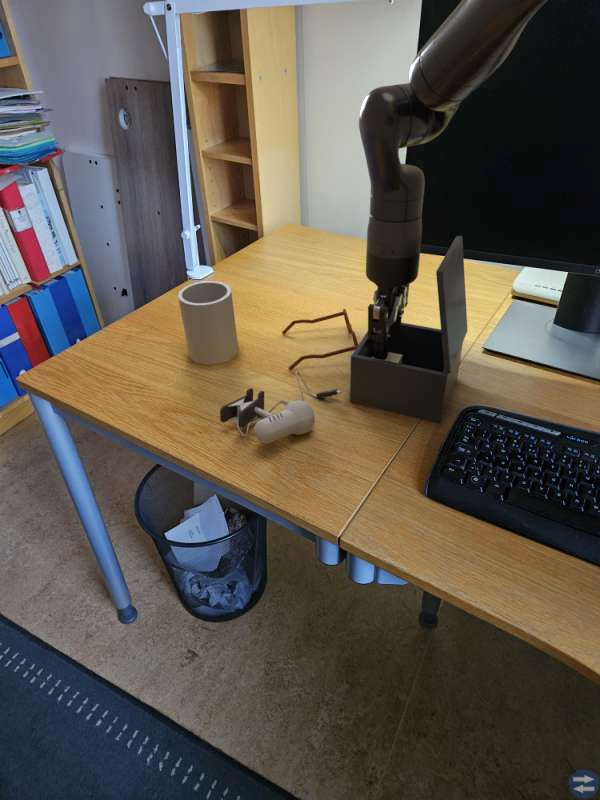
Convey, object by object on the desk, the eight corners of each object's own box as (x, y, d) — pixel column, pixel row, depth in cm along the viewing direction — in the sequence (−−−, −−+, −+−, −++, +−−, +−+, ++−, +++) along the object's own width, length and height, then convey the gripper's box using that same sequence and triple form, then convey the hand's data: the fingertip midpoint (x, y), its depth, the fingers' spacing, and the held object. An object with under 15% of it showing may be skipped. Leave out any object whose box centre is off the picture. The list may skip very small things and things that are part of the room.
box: (349, 402, 90) (350, 356, 85) (374, 361, 99) (376, 317, 94) (440, 423, 85) (447, 376, 80) (457, 378, 94) (464, 333, 89)
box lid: (435, 271, 71) (442, 271, 71) (456, 236, 80) (462, 235, 80) (444, 373, 79) (450, 373, 79) (462, 330, 88) (467, 330, 88)
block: (400, 377, 93) (402, 354, 91) (393, 392, 90) (395, 369, 88) (375, 371, 95) (376, 349, 92) (366, 386, 92) (367, 363, 89)
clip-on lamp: (297, 396, 96) (215, 428, 84) (299, 362, 94) (214, 389, 82) (350, 419, 89) (268, 457, 77) (354, 383, 87) (269, 416, 74)
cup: (246, 354, 102) (239, 295, 95) (200, 370, 99) (190, 310, 91) (225, 333, 109) (217, 276, 101) (181, 347, 105) (170, 289, 98)
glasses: (362, 364, 98) (362, 339, 95) (288, 371, 97) (287, 347, 94) (347, 327, 109) (348, 304, 106) (281, 333, 108) (279, 310, 105)
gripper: (405, 269, 72) (396, 376, 82) (432, 230, 82) (421, 329, 92) (350, 261, 74) (348, 365, 85) (383, 224, 85) (378, 321, 95)
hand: (386, 346), depth 88 cm, fingers open, 6 cm apart
